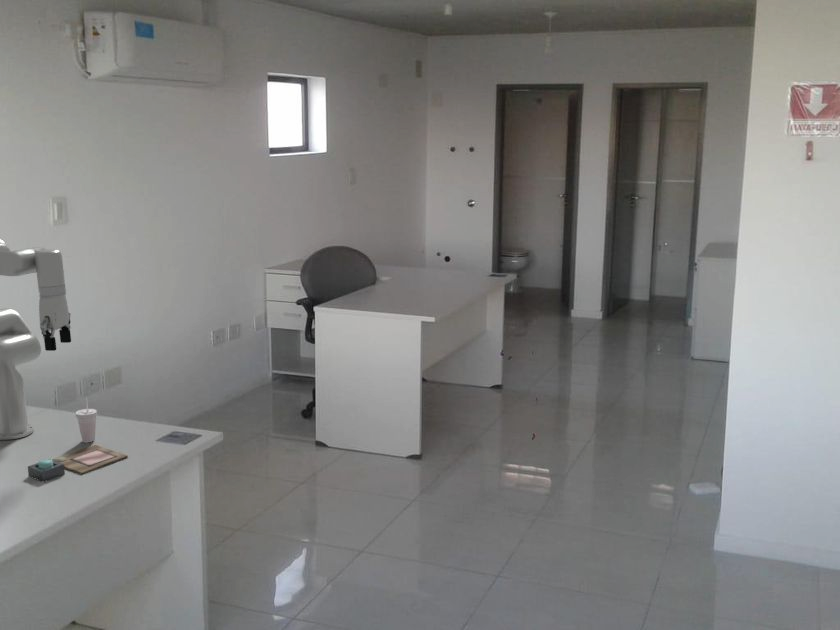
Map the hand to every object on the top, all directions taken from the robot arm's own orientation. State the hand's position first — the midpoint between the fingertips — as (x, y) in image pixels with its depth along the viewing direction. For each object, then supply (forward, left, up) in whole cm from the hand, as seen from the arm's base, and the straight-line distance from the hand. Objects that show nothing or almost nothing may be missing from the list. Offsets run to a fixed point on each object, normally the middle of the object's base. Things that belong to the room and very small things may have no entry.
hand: (58, 346), depth 283 cm
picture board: (+15, -3, -32) cm, 36 cm away
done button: (+15, -17, -32) cm, 39 cm away
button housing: (+15, -17, -32) cm, 39 cm away
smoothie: (+1, +7, -33) cm, 33 cm away
